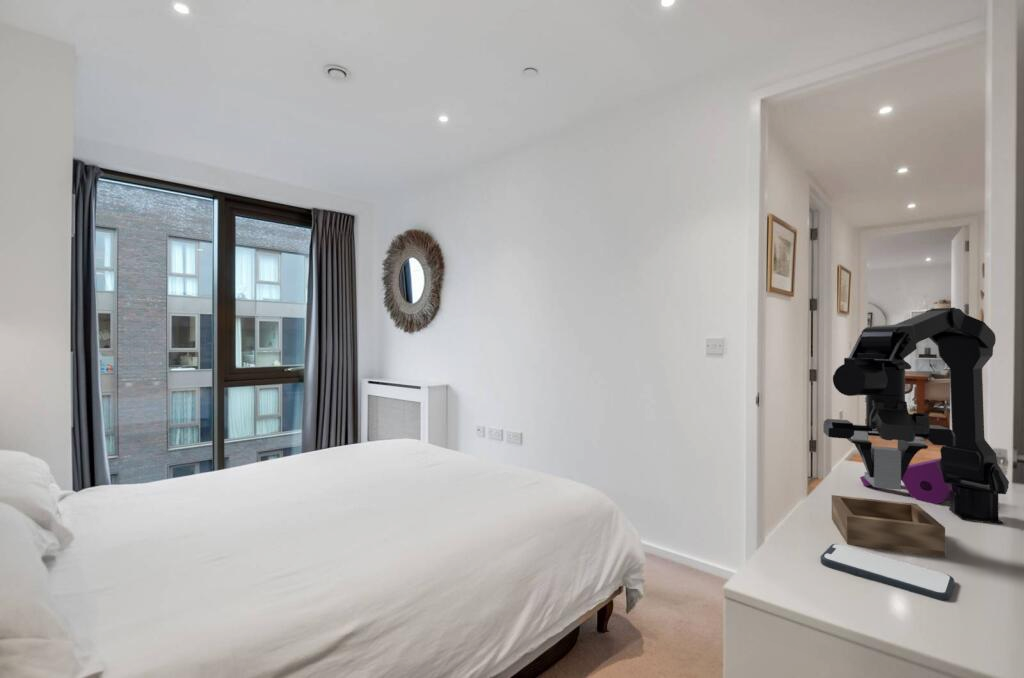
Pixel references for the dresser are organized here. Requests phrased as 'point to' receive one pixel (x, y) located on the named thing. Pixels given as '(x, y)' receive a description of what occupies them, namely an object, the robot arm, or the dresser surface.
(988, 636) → the dresser surface
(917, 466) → the mounting bracket
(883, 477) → the grey block
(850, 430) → the robot arm
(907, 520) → the open wooden box
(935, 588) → the phone case
